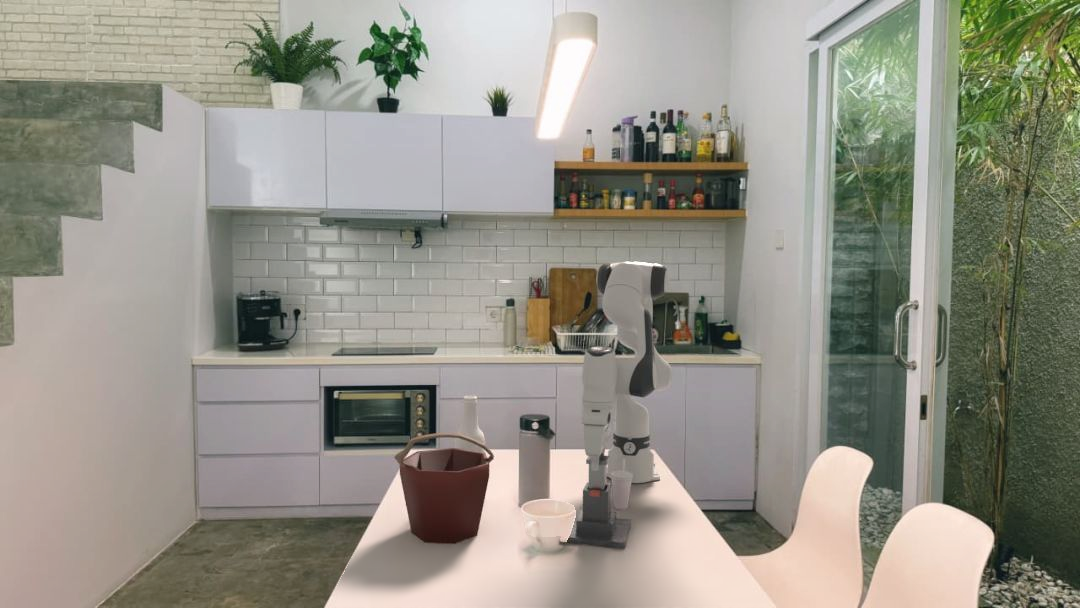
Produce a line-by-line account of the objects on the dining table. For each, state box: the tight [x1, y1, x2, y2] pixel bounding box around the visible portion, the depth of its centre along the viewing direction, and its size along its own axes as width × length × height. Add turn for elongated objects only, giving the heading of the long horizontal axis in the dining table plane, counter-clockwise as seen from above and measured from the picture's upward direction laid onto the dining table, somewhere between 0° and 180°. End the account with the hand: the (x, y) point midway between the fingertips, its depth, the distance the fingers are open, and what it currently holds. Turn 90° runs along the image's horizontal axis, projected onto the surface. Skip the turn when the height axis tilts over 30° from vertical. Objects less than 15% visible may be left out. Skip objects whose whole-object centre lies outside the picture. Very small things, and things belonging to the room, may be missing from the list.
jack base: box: [566, 481, 632, 550], centre depth 175 cm, size 16×16×12 cm
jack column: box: [585, 454, 609, 491], centre depth 175 cm, size 5×5×18 cm
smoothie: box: [610, 459, 633, 511], centre depth 194 cm, size 6×6×14 cm
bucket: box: [394, 432, 495, 545], centre depth 175 cm, size 24×22×25 cm
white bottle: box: [454, 395, 486, 453], centre depth 200 cm, size 9×9×30 cm
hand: (597, 465), depth 174 cm, fingers open, 8 cm apart
